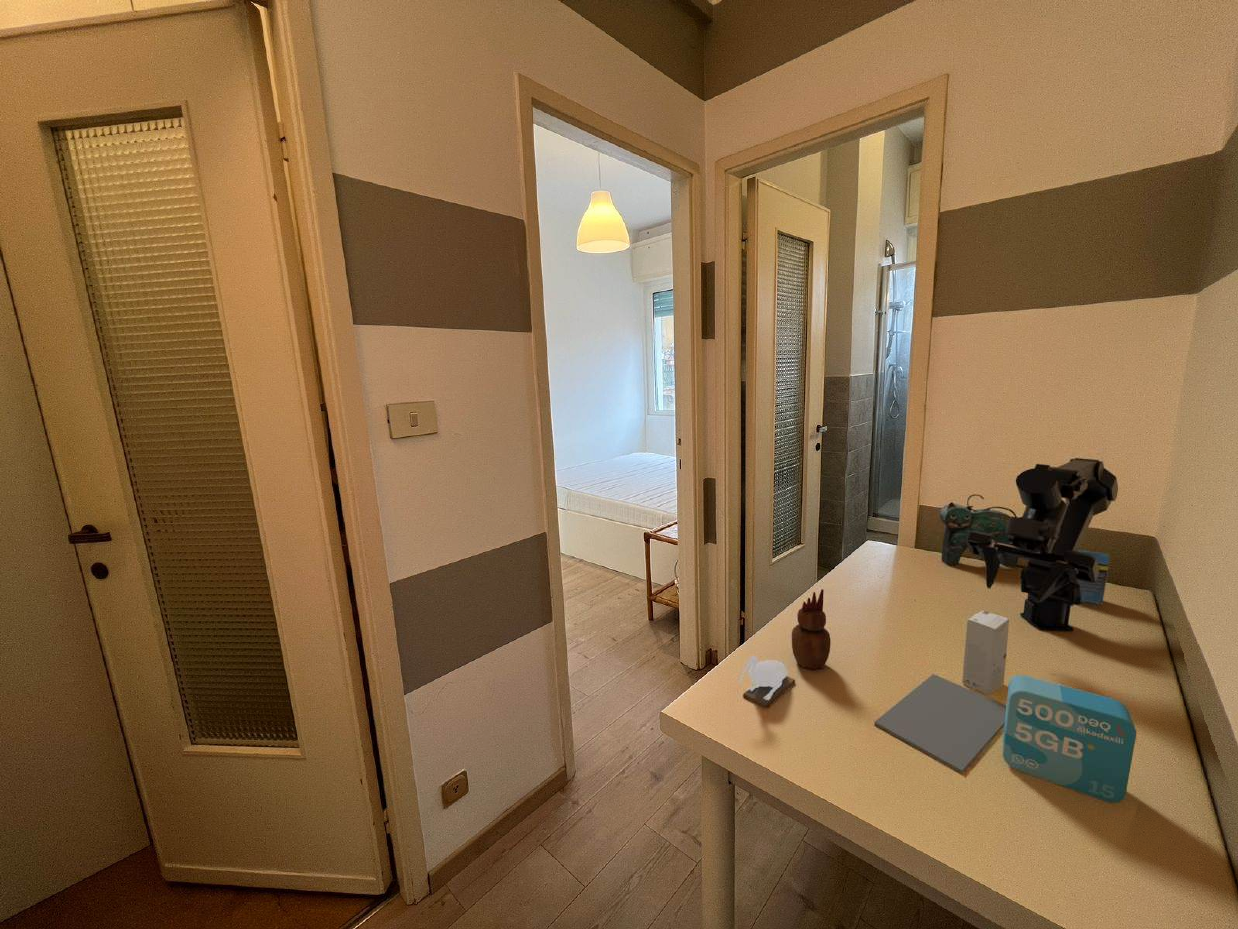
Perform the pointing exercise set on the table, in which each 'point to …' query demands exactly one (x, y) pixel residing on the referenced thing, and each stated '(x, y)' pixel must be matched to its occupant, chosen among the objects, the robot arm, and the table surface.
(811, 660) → the wooden figurine
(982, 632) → the skincare box
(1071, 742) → the data package
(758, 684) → the figurine
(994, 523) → the ceramic cat
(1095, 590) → the label tape box
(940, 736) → the mat
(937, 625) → the table surface
